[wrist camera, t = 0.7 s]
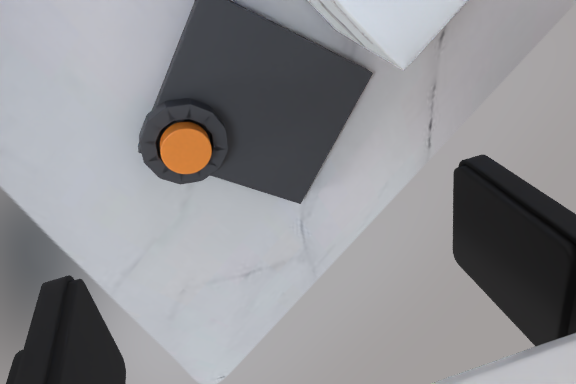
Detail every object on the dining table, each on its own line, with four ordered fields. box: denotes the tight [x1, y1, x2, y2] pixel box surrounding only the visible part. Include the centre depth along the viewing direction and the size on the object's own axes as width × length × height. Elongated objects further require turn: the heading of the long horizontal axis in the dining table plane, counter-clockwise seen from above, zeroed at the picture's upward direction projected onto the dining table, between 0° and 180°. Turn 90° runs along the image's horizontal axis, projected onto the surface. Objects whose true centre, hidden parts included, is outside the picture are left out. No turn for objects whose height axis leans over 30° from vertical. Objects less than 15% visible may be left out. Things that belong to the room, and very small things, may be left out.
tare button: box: [160, 122, 212, 174], centre depth 39 cm, size 4×4×2 cm
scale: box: [138, 0, 372, 204], centre depth 41 cm, size 16×15×3 cm
